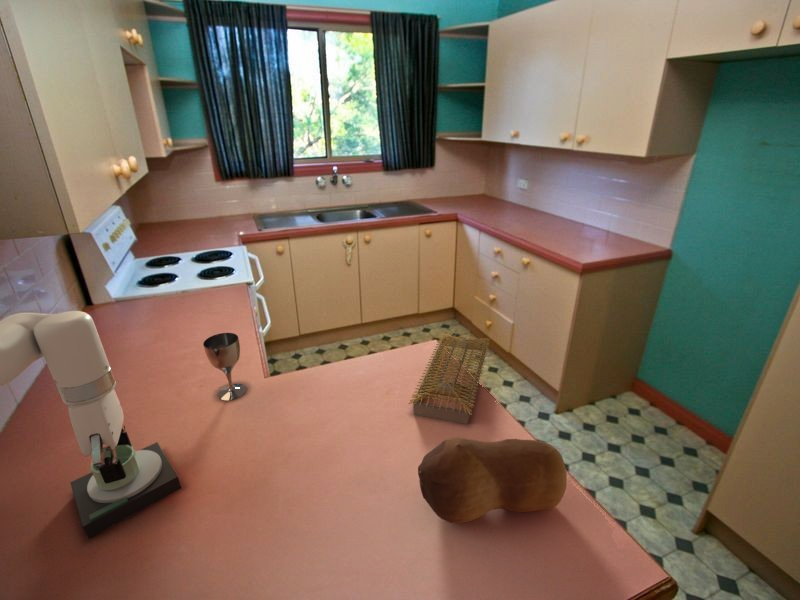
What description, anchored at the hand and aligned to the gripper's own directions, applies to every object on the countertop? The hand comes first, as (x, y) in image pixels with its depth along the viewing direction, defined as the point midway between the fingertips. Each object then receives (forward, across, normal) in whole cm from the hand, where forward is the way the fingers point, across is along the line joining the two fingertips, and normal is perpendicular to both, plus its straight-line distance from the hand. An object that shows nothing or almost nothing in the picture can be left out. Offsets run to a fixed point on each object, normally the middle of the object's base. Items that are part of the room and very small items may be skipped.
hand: (119, 464), depth 78 cm
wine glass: (+7, -25, +20) cm, 33 cm away
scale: (+7, 0, 0) cm, 7 cm away
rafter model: (+7, -6, +74) cm, 74 cm away
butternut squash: (0, +26, +48) cm, 55 cm away
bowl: (+3, 0, -1) cm, 3 cm away
